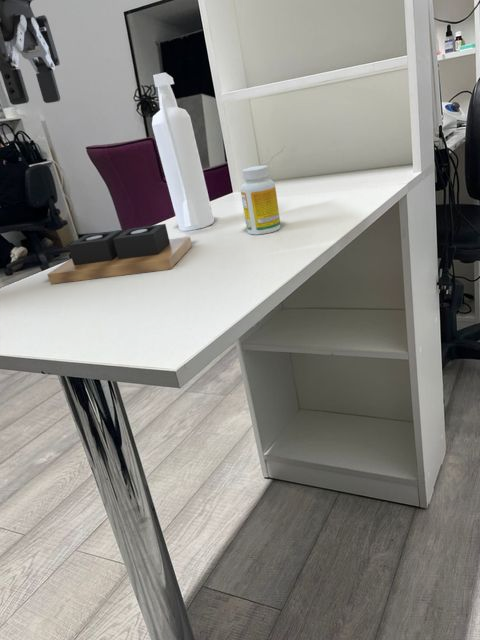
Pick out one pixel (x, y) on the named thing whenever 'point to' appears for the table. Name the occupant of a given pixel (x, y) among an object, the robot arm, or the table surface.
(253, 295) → the table surface
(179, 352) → the table surface
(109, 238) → the dark grey square ring
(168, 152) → the white spray bottle
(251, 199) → the supplement bottle
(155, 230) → the black square holder
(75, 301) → the table surface
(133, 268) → the wooden board
